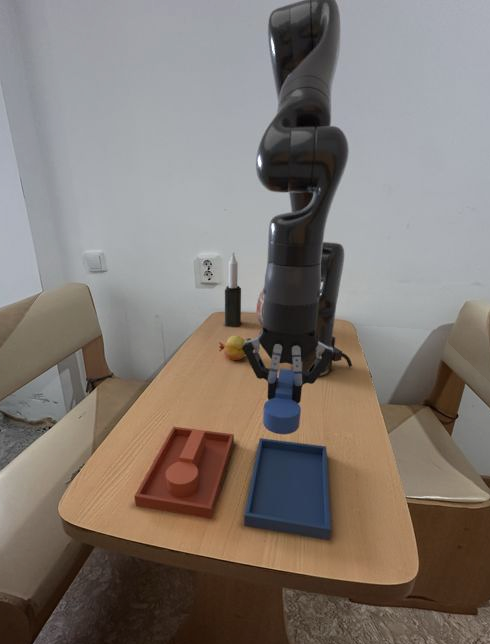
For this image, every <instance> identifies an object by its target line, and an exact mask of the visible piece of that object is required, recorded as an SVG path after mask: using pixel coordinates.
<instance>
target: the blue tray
mask: <svg viewBox="0 0 490 644" xmlns="http://www.w3.org/2000/svg"><path fill="white" fill-rule="evenodd" d="M327 453H328V452H327V446H325V445H317V444H309V443H301V442H294V441H293V442H292V441H287V440H279V439H270V438H261V437H259V440H258V445H257V451H256V455H255V460H254V465H253V470H252V474H251V480H250V485H249V491H248V496H247V500H246V504H245V510H244V515H243V516H244V517H243V520H244V522H243V525H244V526H246V527H251V528H252V527H253V528H257V529H263V530H268V531H269V530H270V531H274V532H279V533H287V534H293V535H299V536H303V537H309V538H314V539H315V538H316V539H320V540H321V539H322V540H326V541H330V539H331V531H332V522H331V506H330V489H329V472H328V455H327Z"/></svg>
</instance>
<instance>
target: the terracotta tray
mask: <svg viewBox="0 0 490 644" xmlns="http://www.w3.org/2000/svg"><path fill="white" fill-rule="evenodd" d="M193 429H195V428H189V427H179V426H172V428H171V430H170V432H169V433H168V435H167V437H166V438H165V441H164V442H163V444H162V446H161V448H160V449H159V452H158V453H157V455H156V457H155V458H154V460H153V462H152V464H151V466H150V467H149V469H148V470H147V473H146V474H145V477H144V479H143V480H142V481H141V483H140V485H139V487H138V489H137V490H136V492H135V494H134V495H133V496H134V503H135V506H136V507H139V508H146V509H151V510H158V511H163V512H168V513H169V512H170V513H174V514H181V515H187V516H192V517H198V518H204V519H211V520H212V518H213V515H214V511H215V508H216V505H217V501H218V497H219V495H220V491H221V487H222V484H223V481H224V477H225V474H226V471H227V467H228V464H229V460H230V457H231V454H232V450H233V447H234V443H235V437H234V436H235V435H234V433H227V432H221V431H219V432H218V431H211V430H204V429H203V431H205V439H206V447H205V449H204V452H203V454H202V457H201V459H200V462H199V464H198V467H197V469H198V480H199V486H198V489H197V490H196V492H195V493H193V494H192V495H190V496H187V497H175V496H173V495H171V494H170V493H169V492H168V490H167V481H166V471H167V469H168V468H169V467H170V466H171V465H172V464H174V463H177V462H180V455H181V453H182V451H183V449H184V447H185V445H186V443H187V441H188V439H189V436H190V434H191V432H192V430H193ZM195 430H197V428H196V429H195Z"/></svg>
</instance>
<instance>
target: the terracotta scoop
mask: <svg viewBox="0 0 490 644" xmlns="http://www.w3.org/2000/svg"><path fill="white" fill-rule="evenodd" d="M192 429H193V430H192V432H191V434H190V436H189V439H188V441H187V443H186V445H185V447H184V449H183V451H182V453H181V455H180V462H177V463H174V464H172V465H171V466H170V467H169V468H168V469H167V471H166V481H167V490H168V492H169V493H170V494H171V495H173V496H175V497H187V496H190V495H192V494H193V493H195V492H196V490H197V489H198V486H199V480H198V469H197V467H198V464H199V462H200V459H201V457H202V454H203V452H204V449H205V447H206V439H205V431H206V430H204V429H203V430H204V431H203V430H202V429H196V430H195V428H192Z"/></svg>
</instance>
